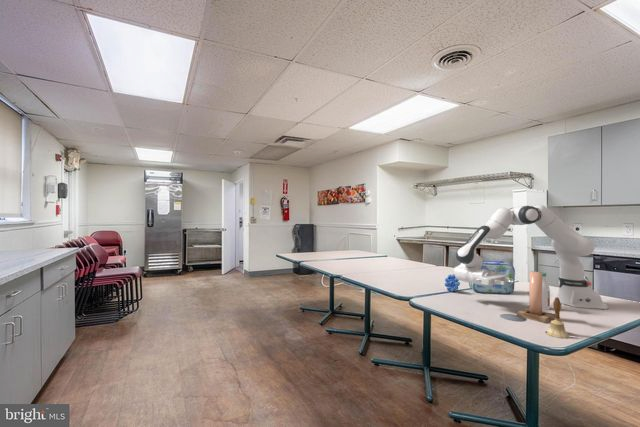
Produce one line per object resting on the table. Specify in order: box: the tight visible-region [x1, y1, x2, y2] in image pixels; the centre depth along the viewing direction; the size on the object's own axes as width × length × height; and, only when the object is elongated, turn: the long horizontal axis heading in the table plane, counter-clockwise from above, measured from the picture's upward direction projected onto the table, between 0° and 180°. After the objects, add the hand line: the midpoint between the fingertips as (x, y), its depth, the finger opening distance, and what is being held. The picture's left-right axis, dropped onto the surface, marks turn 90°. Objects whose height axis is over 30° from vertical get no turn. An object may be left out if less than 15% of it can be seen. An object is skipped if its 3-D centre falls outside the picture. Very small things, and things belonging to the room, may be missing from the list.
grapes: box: [444, 273, 461, 293], centre depth 203 cm, size 12×7×12 cm, turn 26°
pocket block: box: [516, 307, 555, 324], centre depth 150 cm, size 12×12×3 cm
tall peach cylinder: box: [528, 271, 543, 316], centre depth 150 cm, size 5×5×22 cm
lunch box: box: [468, 260, 516, 295], centre depth 202 cm, size 26×11×21 cm, turn 81°
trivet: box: [499, 313, 528, 323], centre depth 150 cm, size 11×11×1 cm
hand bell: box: [544, 297, 570, 339], centre depth 131 cm, size 8×8×16 cm
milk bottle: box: [540, 271, 551, 311], centre depth 166 cm, size 8×8×20 cm
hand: (508, 282), depth 160 cm, fingers open, 8 cm apart
